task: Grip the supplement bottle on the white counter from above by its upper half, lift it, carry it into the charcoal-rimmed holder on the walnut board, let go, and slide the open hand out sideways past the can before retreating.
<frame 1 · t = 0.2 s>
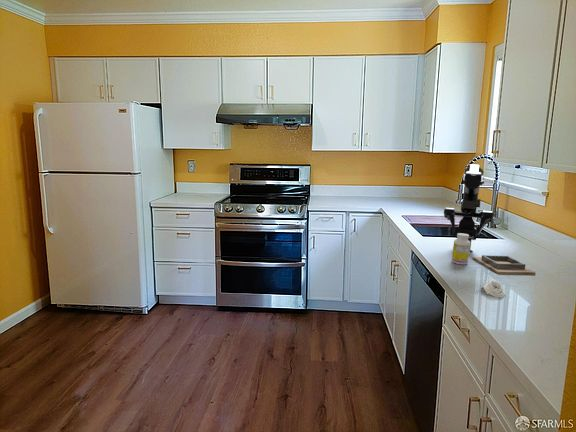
hand: (465, 233, 164), 15 cm above the counter, fingers open, 9 cm apart
supplement bottle: (459, 263, 174), on the counter
holder board: (502, 266, 172), on the counter
whipped cream: (493, 294, 140), on the counter
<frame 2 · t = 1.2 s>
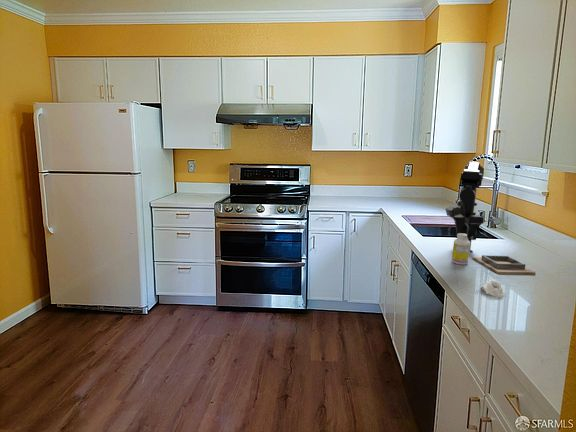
hand: (463, 235, 172), 12 cm above the counter, fingers open, 9 cm apart
nothing on the counter moved.
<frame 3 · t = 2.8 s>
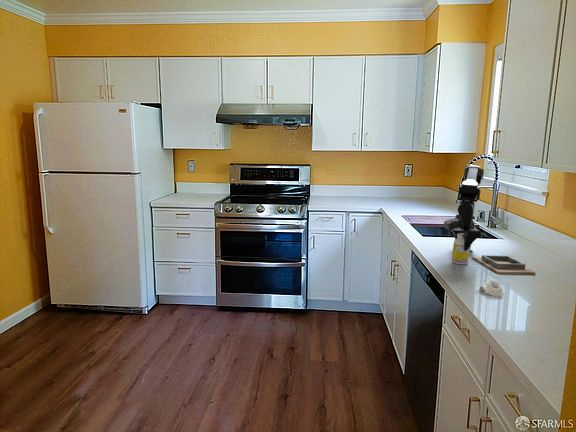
hand: (461, 248, 173), 7 cm above the counter, fingers closed on supplement bottle, 7 cm apart
supplement bottle: (459, 263, 174), on the counter, touching gripper
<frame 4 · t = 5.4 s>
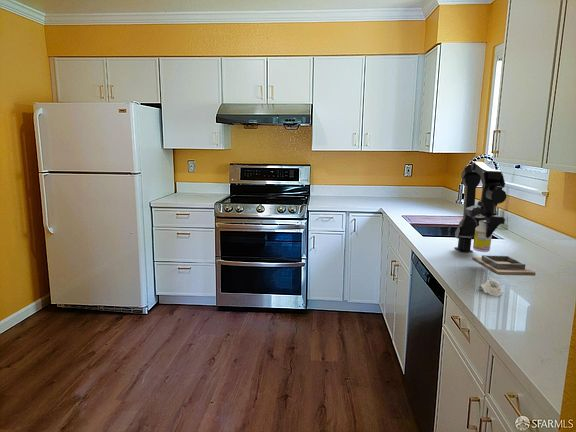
hand: (483, 235, 171), 13 cm above the counter, fingers closed on supplement bottle, 7 cm apart
supplement bottle: (480, 250, 172), point 6 cm above the counter, touching gripper
when the fingers open (9 cm above the counter, at t = 8.4 s): supplement bottle drops 1 cm, resting on holder board.
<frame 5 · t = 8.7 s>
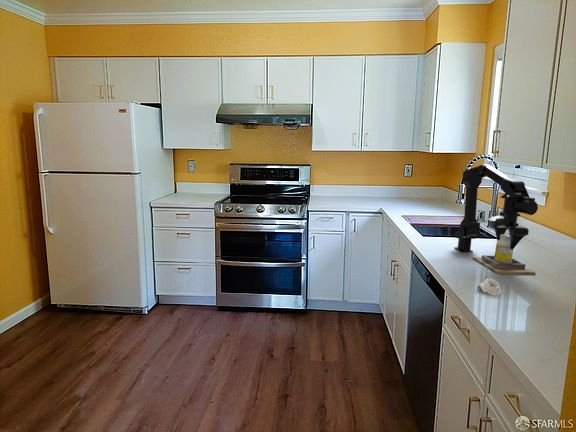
hand: (505, 246, 170), 9 cm above the counter, fingers open, 9 cm apart
supplement bottle: (502, 264, 172), point 1 cm above the counter, touching holder board
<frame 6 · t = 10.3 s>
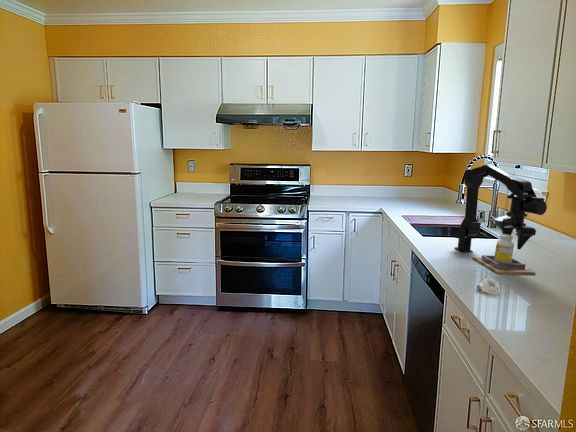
hand: (512, 246, 170), 9 cm above the counter, fingers open, 9 cm apart
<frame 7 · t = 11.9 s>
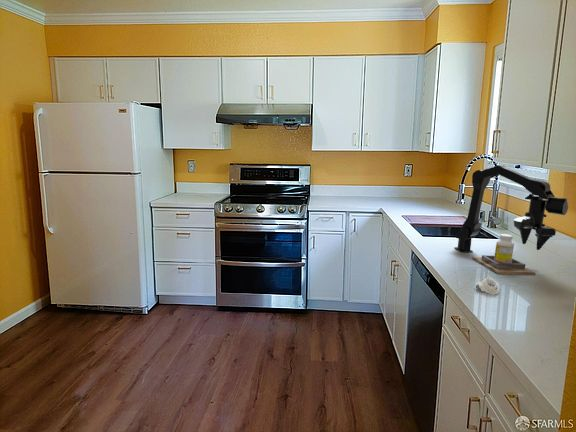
hand: (530, 246, 171), 9 cm above the counter, fingers open, 9 cm apart
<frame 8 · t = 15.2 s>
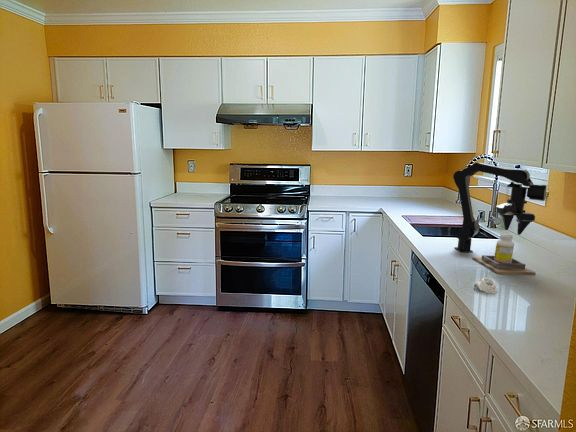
hand: (512, 232, 179), 13 cm above the counter, fingers open, 9 cm apart
at the end: supplement bottle 0.1 cm off-centre on the holder board, point 0.8 cm above the holder board's base; supplement bottle tilted 0°; the gripper is holding nothing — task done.
